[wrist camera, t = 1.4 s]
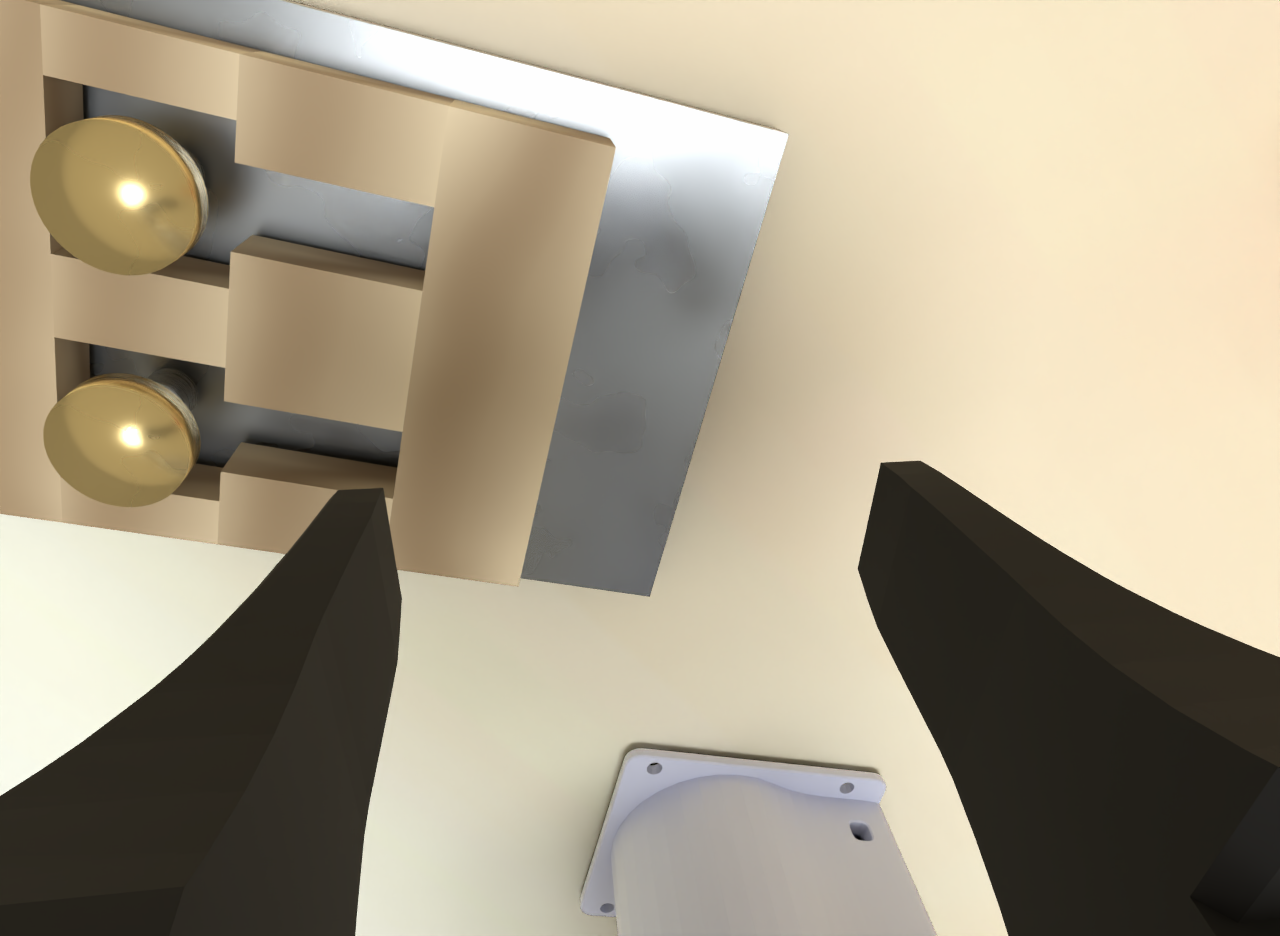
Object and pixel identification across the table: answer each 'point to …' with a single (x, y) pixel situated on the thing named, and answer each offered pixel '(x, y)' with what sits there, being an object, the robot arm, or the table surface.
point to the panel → (309, 295)
